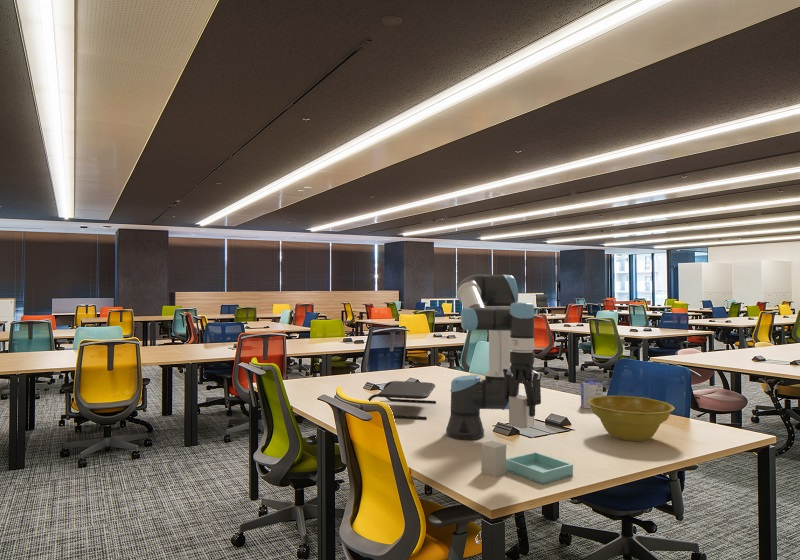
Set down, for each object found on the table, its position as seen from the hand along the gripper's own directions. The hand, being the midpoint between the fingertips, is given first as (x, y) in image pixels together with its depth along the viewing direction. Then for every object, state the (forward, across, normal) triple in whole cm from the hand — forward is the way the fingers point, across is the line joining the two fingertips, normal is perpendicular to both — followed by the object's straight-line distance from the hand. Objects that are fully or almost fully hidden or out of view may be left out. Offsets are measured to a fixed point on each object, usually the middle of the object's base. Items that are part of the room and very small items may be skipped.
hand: (521, 424), depth 169 cm
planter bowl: (+15, -2, +71) cm, 73 cm away
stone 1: (+16, -6, -6) cm, 18 cm away
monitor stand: (+15, -94, +28) cm, 99 cm away
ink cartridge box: (+14, -42, +108) cm, 116 cm away
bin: (+16, +3, +5) cm, 17 cm away
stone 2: (0, 0, 0) cm, 0 cm away
